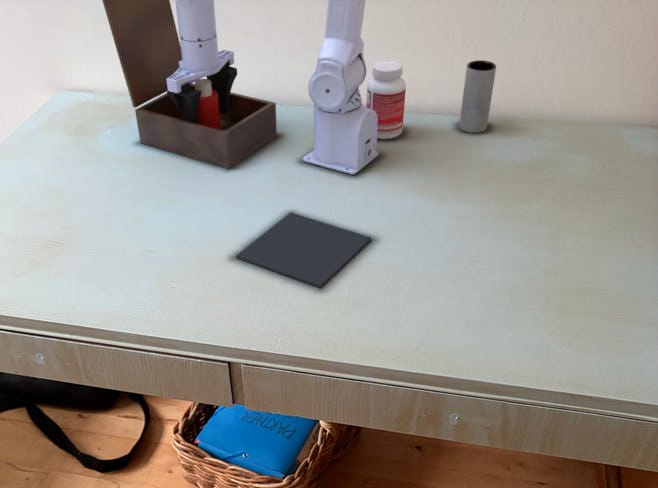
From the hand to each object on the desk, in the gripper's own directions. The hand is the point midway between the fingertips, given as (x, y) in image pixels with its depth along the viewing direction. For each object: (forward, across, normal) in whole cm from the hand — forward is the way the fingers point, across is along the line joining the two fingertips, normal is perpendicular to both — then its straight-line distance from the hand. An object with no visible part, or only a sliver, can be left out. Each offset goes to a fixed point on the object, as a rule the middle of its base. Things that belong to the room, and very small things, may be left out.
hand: (206, 120), depth 124 cm
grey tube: (+3, -26, +36) cm, 45 cm away
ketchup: (+2, 0, 0) cm, 2 cm away
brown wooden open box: (+3, 0, 0) cm, 3 cm away
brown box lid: (-12, 0, -11) cm, 16 cm away
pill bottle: (+3, -17, +24) cm, 30 cm away
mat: (+3, +20, +32) cm, 38 cm away
